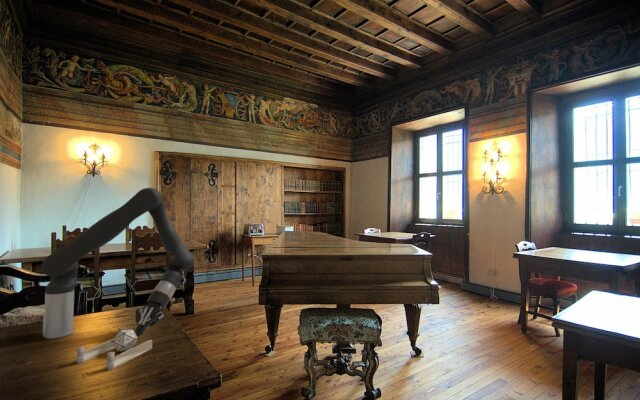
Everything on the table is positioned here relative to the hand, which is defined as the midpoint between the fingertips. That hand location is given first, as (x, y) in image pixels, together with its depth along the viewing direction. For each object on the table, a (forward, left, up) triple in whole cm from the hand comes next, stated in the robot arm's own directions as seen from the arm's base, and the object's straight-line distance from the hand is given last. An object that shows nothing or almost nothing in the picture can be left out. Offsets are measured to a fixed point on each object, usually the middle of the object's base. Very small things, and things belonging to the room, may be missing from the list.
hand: (136, 335), depth 123 cm
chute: (0, -8, -4) cm, 9 cm away
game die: (0, -5, -4) cm, 6 cm away
